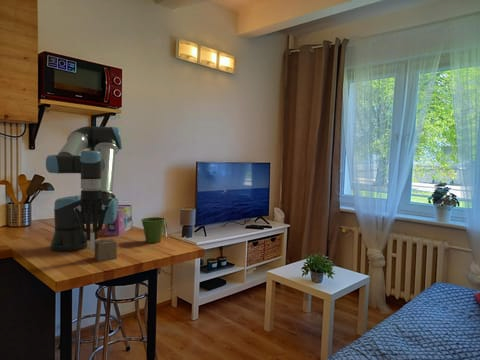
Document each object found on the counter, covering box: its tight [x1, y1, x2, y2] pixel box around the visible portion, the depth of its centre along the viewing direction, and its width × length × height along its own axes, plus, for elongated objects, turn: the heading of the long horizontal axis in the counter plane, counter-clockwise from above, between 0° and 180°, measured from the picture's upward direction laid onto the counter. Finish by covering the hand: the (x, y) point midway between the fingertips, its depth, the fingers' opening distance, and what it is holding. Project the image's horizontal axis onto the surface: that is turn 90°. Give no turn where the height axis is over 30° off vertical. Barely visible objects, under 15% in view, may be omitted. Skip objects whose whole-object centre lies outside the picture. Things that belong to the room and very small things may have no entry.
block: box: [94, 238, 118, 263], centre depth 142 cm, size 7×7×7 cm
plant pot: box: [140, 216, 166, 244], centre depth 171 cm, size 12×12×11 cm
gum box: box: [104, 204, 133, 237], centre depth 192 cm, size 24×8×14 cm, turn 0°
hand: (91, 248), depth 139 cm, fingers closed
